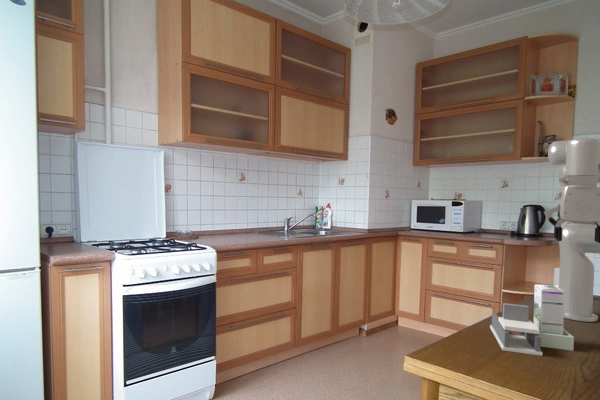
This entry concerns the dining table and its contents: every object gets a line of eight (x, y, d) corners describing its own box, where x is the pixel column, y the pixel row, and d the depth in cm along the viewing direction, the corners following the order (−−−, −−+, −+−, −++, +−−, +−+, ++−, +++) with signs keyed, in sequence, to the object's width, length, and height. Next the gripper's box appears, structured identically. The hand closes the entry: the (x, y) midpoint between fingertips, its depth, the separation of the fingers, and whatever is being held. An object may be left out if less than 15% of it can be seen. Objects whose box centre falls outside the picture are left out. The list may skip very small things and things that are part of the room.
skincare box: (563, 299, 151) (564, 269, 151) (552, 297, 155) (553, 267, 155) (572, 298, 153) (574, 269, 153) (562, 295, 157) (563, 267, 157)
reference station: (490, 327, 116) (490, 312, 115) (523, 331, 113) (524, 316, 113) (502, 350, 98) (503, 332, 98) (542, 355, 96) (543, 337, 96)
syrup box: (563, 344, 102) (566, 290, 102) (538, 341, 103) (541, 288, 103) (555, 336, 107) (557, 285, 107) (531, 333, 109) (533, 283, 109)
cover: (498, 320, 107) (499, 302, 107) (530, 324, 105) (531, 306, 104) (504, 329, 99) (505, 310, 99) (539, 334, 97) (540, 314, 97)
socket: (526, 334, 111) (526, 322, 111) (561, 338, 108) (561, 326, 108) (535, 345, 102) (535, 332, 102) (573, 350, 100) (574, 337, 100)
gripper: (549, 182, 108) (547, 241, 109) (624, 182, 102) (620, 245, 103) (542, 181, 115) (540, 237, 116) (611, 182, 109) (608, 241, 110)
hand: (578, 241), depth 110 cm, fingers open, 9 cm apart
